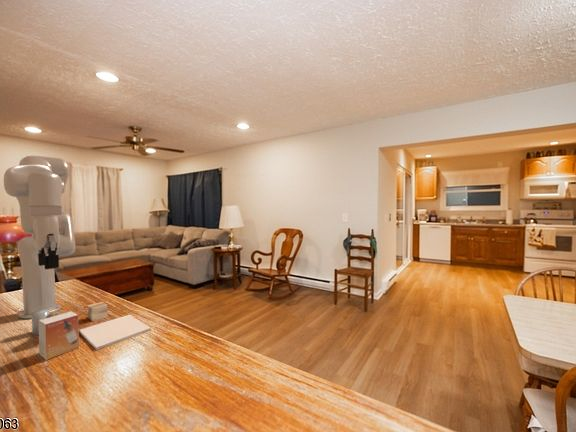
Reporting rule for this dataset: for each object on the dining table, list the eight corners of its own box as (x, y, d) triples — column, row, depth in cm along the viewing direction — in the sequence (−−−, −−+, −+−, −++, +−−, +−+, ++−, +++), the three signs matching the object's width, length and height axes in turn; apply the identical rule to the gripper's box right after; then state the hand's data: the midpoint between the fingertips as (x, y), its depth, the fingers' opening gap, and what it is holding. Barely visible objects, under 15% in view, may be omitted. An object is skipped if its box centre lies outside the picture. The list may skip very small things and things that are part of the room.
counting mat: (79, 332, 90) (79, 329, 90) (129, 316, 103) (129, 314, 103) (96, 350, 79) (96, 347, 79) (150, 330, 92) (150, 327, 92)
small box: (45, 361, 74) (44, 324, 73) (38, 355, 76) (37, 319, 76) (79, 347, 80) (78, 314, 80) (72, 342, 83) (71, 310, 83)
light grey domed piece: (31, 332, 90) (30, 312, 90) (48, 327, 94) (47, 308, 93) (33, 336, 87) (32, 315, 87) (51, 331, 91) (50, 311, 91)
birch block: (88, 318, 101) (87, 305, 101) (103, 313, 105) (102, 301, 105) (92, 321, 98) (91, 308, 98) (107, 317, 102) (107, 304, 102)
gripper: (25, 213, 84) (27, 265, 84) (34, 212, 73) (37, 272, 74) (55, 212, 90) (57, 261, 90) (68, 211, 79) (71, 267, 79)
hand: (48, 266), depth 82 cm, fingers open, 9 cm apart
